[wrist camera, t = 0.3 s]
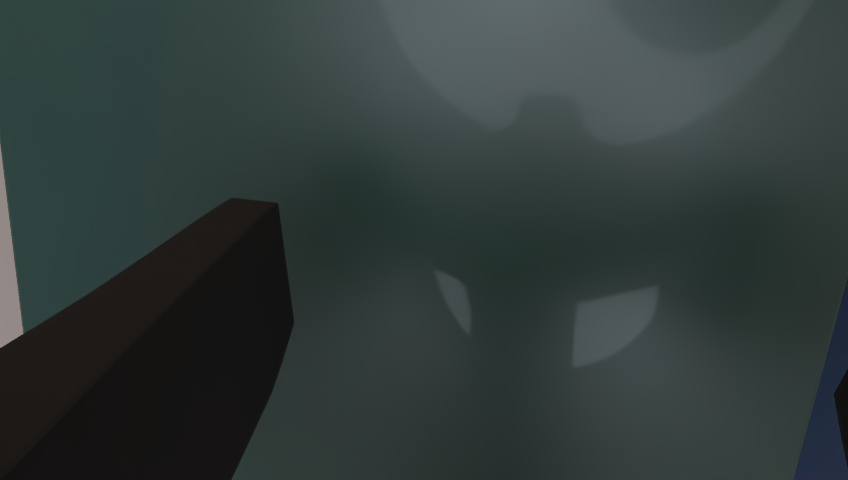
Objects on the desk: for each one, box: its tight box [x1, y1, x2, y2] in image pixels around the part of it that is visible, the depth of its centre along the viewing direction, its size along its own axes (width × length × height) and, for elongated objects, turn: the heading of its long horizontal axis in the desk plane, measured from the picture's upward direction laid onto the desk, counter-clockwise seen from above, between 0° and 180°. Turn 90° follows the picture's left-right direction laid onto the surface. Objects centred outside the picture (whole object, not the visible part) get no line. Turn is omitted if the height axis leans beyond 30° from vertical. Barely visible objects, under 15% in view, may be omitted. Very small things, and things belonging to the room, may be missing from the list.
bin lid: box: [0, 0, 848, 480], centre depth 12 cm, size 11×15×1 cm
